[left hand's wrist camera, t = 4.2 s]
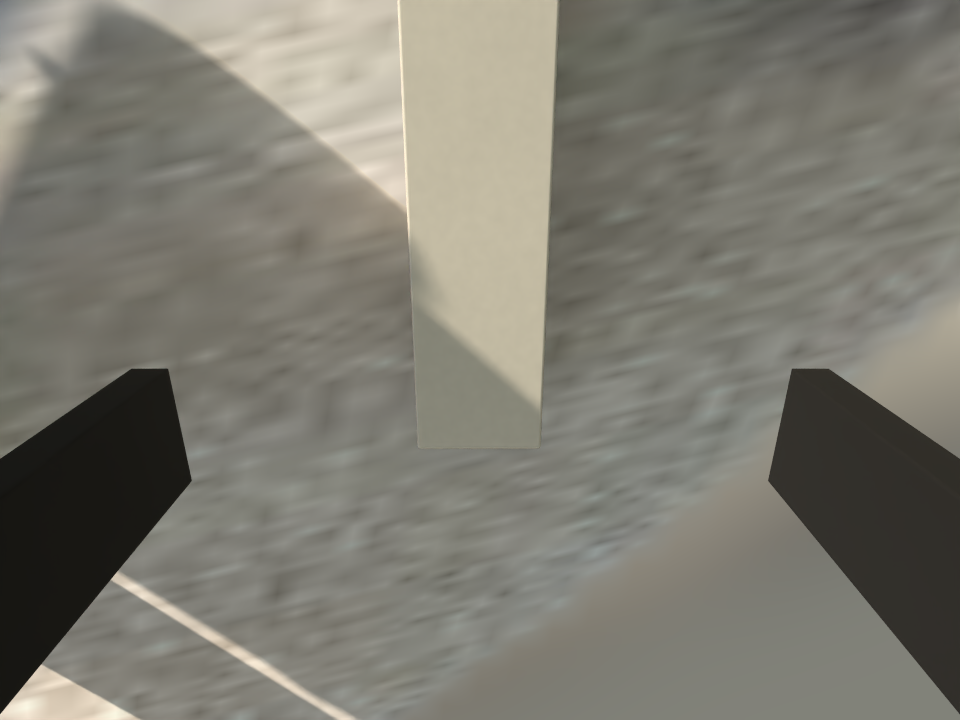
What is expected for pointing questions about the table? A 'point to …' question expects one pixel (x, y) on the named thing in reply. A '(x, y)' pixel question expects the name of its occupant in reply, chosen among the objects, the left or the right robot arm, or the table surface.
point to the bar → (478, 214)
